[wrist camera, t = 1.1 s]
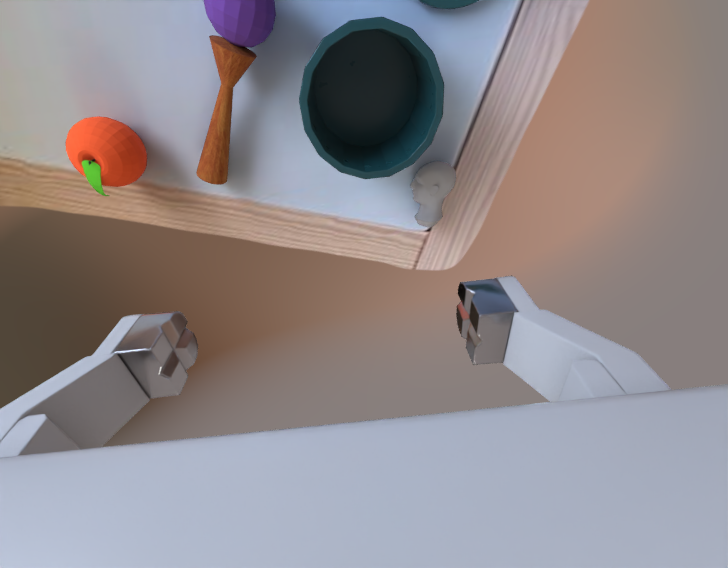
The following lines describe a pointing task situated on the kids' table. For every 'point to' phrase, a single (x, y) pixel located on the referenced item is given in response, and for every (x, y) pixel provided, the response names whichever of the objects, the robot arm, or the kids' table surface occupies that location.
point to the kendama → (231, 71)
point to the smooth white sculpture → (432, 190)
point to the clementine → (106, 152)
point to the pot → (371, 98)
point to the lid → (448, 3)
